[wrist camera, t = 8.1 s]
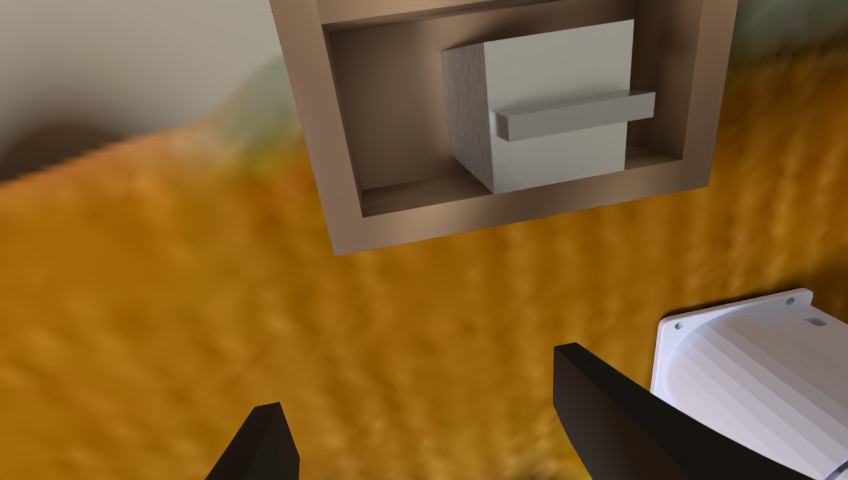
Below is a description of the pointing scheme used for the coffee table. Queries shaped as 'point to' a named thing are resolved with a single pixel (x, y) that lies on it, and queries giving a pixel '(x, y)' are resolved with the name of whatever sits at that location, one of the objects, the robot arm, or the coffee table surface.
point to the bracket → (543, 105)
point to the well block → (427, 118)
